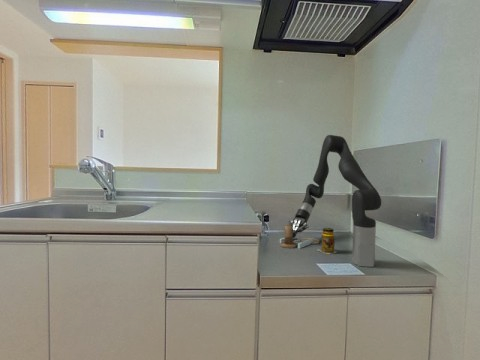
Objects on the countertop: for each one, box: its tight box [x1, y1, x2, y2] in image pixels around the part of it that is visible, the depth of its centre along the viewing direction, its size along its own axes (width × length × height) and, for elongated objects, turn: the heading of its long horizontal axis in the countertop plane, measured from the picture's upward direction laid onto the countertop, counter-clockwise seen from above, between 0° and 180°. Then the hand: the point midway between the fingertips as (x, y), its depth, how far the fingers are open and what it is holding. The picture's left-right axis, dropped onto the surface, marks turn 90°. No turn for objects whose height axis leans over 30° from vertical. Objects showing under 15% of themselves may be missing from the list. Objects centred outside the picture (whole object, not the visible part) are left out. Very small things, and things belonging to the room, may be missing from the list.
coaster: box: [301, 237, 320, 245], centre depth 158 cm, size 10×10×1 cm
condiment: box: [316, 227, 338, 255], centre depth 140 cm, size 7×8×12 cm
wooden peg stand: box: [279, 224, 298, 249], centre depth 150 cm, size 9×9×11 cm
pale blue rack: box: [279, 236, 313, 249], centre depth 155 cm, size 14×13×2 cm
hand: (291, 236), depth 152 cm, fingers closed
